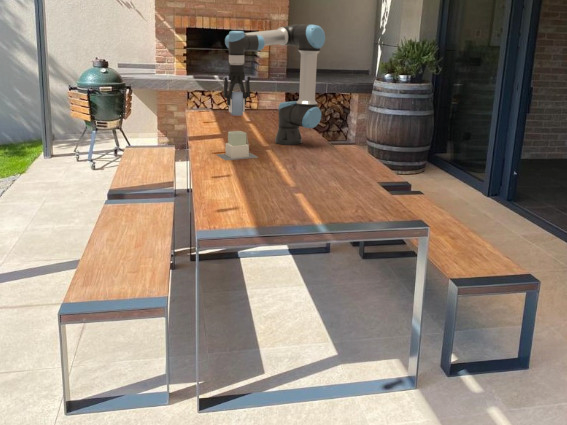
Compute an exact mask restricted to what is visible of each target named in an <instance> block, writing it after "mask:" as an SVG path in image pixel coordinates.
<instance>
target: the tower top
mask: <svg viewBox="0 0 567 425" xmlns="http://www.w3.org/2000/svg"><path fill="white" fill-rule="evenodd" d="M244 132H245V131H242V130H236V131H235V130H233V131H227V143H228V144H230V145H232V146H242V145H246V133H244Z"/></svg>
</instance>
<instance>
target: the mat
mask: <svg viewBox="0 0 567 425" xmlns="http://www.w3.org/2000/svg"><path fill="white" fill-rule="evenodd" d="M216 156H218V157H219V158H220V159H222V160H223V161H234V160H245V159H246V160H247V159H258V158H260V157H259V156H257V155H255V154H253V153H251V152H249V157H245V158H233V159H232V158H230V157H228V156H227V155H226V153H221V154H220V153H219V154H216Z"/></svg>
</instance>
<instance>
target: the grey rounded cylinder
mask: <svg viewBox="0 0 567 425" xmlns="http://www.w3.org/2000/svg"><path fill="white" fill-rule="evenodd" d="M230 99H232V113H230V116H243V115H244V112H243V92H241V91H232V95H231V98H230Z"/></svg>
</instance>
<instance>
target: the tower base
mask: <svg viewBox="0 0 567 425" xmlns="http://www.w3.org/2000/svg"><path fill="white" fill-rule="evenodd" d="M249 153H250V145H247V144H246V145H242V146H232V145H230V144H228V142H226V143H225V154H226V155H227V156H228V157H230V158H232V159H233V158H245V157H249Z"/></svg>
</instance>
